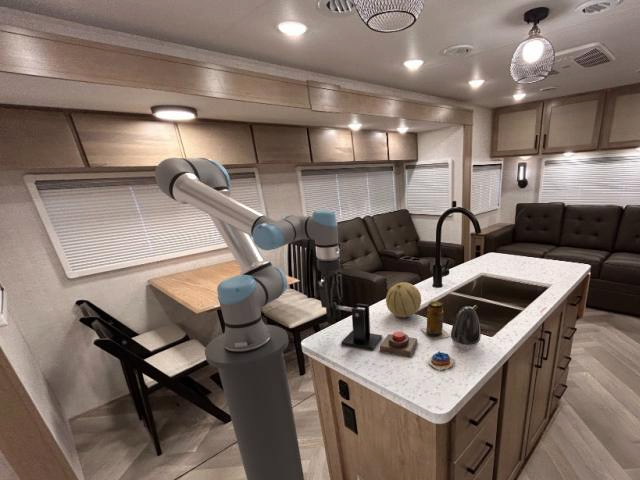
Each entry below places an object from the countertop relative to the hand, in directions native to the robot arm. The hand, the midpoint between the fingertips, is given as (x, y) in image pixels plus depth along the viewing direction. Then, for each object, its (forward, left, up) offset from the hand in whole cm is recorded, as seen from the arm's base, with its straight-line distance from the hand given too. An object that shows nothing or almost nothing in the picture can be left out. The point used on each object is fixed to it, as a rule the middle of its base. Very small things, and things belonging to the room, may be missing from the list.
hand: (334, 320), depth 116 cm
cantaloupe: (+19, +25, -7) cm, 32 cm away
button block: (+25, 0, -7) cm, 26 cm away
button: (+25, 0, -3) cm, 25 cm away
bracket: (+11, 0, -7) cm, 13 cm away
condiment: (+35, +14, -7) cm, 38 cm away
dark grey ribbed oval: (+47, +8, -7) cm, 48 cm away
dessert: (+41, -5, -7) cm, 42 cm away
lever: (+5, 0, +4) cm, 6 cm away
